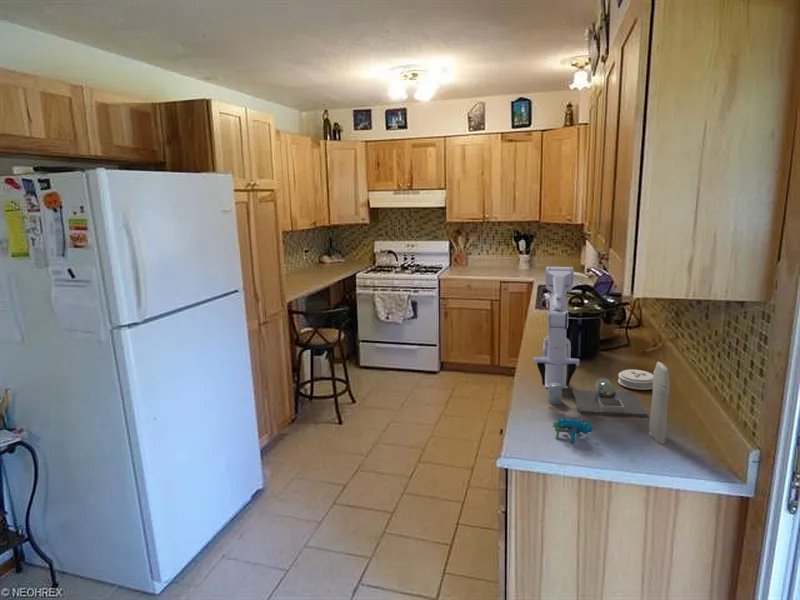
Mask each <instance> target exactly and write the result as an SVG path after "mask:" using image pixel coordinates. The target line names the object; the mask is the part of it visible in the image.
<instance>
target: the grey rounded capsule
mask: <svg viewBox="0 0 800 600" xmlns="http://www.w3.org/2000/svg"><path fill="white" fill-rule="evenodd" d="M562 398H563V388H562V384H559V383H549V384H548V388H547V402H548V403H549V404H552V405H561V404H562V403H563V402H562V401H563V399H562Z"/></svg>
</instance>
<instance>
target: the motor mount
mask: <svg viewBox="0 0 800 600" xmlns="http://www.w3.org/2000/svg"><path fill="white" fill-rule="evenodd" d="M594 386H595V388H596V389H595V390H589V389H588V390H585V389H572V395H573V398H574V400H575V403H576V406H577V408H578V411H579V413H580V414H582V415H595V416H599V415H601V416H614V417H615V416H616V417H617V416H618V417H619V416H620V417H634V418H635V417H637V418H639V417H641V418H648V412H647V411H646V410H645V409H644V407H643V406H642V403H641V402H640V401H639V400H638V399H637V397H636V395H635V394H634V392H632V391H629V392H628V391H616V390H615V388H614V387H613V386H612V383H611V382H610V380H609V379H608V378H604V377H601V378H598V379H596V382H595V384H594Z"/></svg>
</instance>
